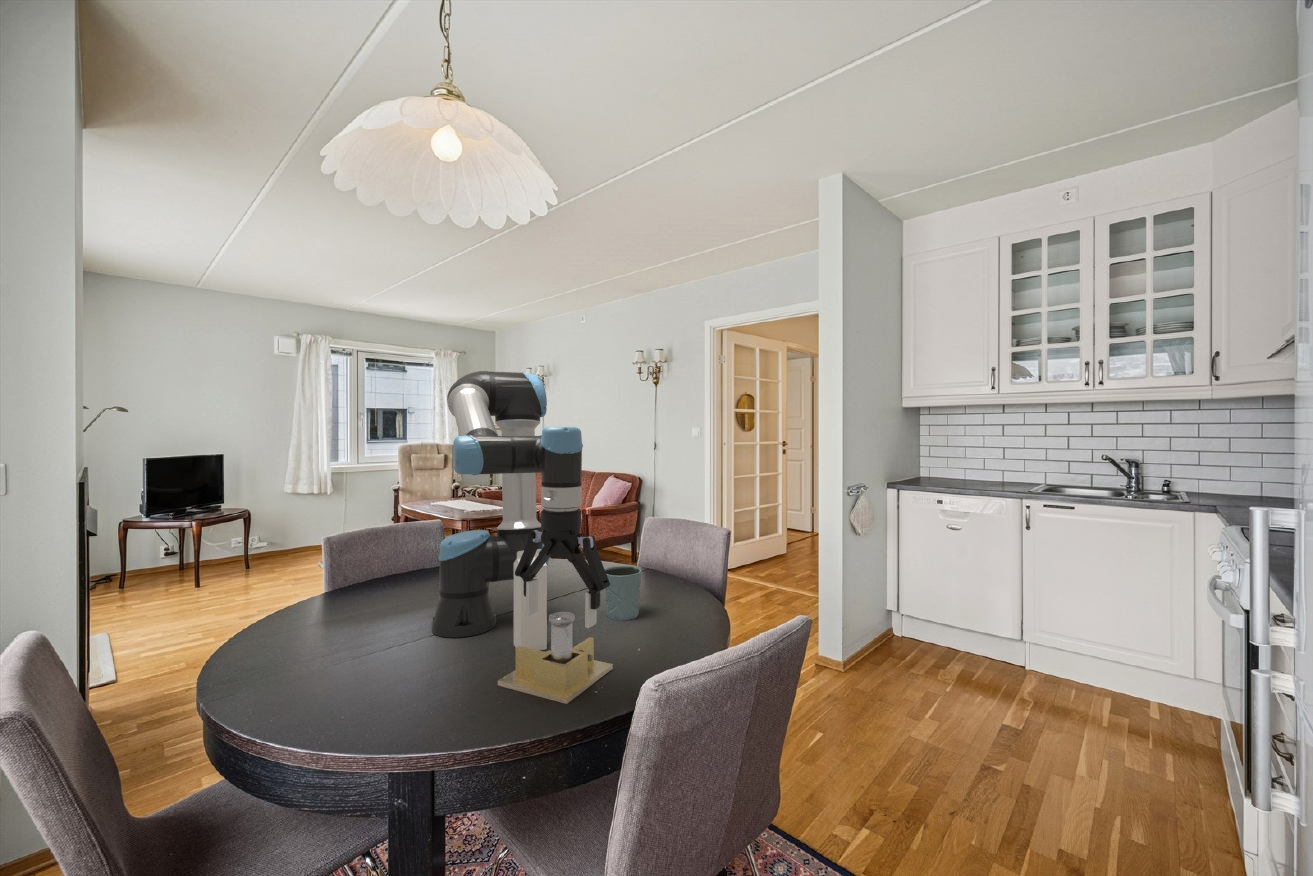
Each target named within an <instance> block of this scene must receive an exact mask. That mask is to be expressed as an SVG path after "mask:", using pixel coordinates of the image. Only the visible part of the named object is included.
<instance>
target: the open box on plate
mask: <svg viewBox="0 0 1313 876" xmlns="http://www.w3.org/2000/svg"><path fill="white" fill-rule="evenodd" d="M594 641H595V639H594V637H588V638H586V639H585V640H583V641H581V642H579V643H578V644H576V645H575V646H572V660H570V661H569V662H567V663H566V664H560V663H556V662H551V649H549V650H547V651H544V650H535V649H530V648H526V647H521V646H518V647H516V648H515V669H514V670H513V671H512V672H510V673H507V674H506V675H505V676H503V677H501V678H499V679H498V680H497V686H498V687H501V688H505V689H510V690H513V691H516V692H520V693H524V694H529V695H530V696H531V695H532V696H535V697H539V698H542V699H547V700H550V701H554V702H558V703H561V704H565V705H568V704H570V702H572V701H573V700H574V699H576V698H577V697H578V696H580V695H581V694H582V693H584V691H586V690H587V689H589V688H590V687H592V685H594V684H596V683H597V681H599V680H601V678H603V677H604V676H606V675H607V674H609V672H610V671H612V670H613V663H609V662H604V661H599V660H595V659H594V658H595V657H594V656H595V654H594V653H595V652H594V651H595V650H594V648H595V647H594V646H595V645H594V643H595V642H594Z"/></svg>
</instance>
